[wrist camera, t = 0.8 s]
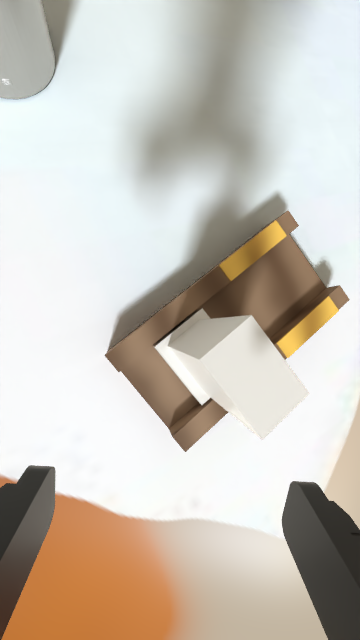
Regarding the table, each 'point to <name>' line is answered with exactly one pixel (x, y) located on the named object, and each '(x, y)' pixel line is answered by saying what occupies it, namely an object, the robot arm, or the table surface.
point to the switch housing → (230, 301)
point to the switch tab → (233, 368)
